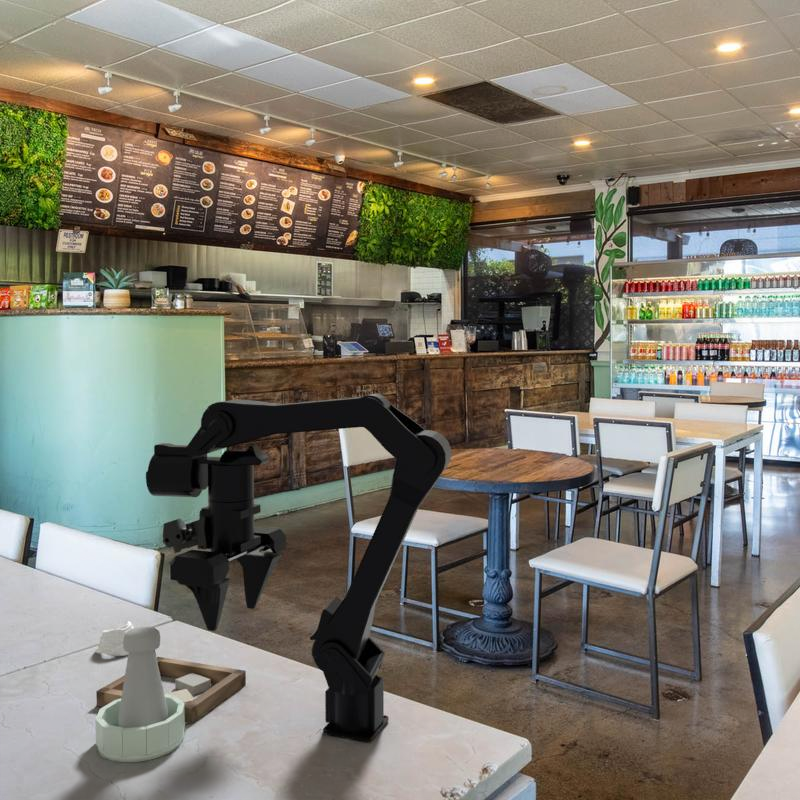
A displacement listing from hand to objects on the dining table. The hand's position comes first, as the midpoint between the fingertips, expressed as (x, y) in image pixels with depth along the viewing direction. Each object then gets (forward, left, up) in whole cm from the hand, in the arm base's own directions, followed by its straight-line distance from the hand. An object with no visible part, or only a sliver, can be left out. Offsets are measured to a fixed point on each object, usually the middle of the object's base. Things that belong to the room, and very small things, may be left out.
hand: (232, 618), depth 103 cm
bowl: (+7, +9, -13) cm, 18 cm away
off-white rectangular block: (+10, -6, -13) cm, 18 cm away
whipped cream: (+30, -14, -13) cm, 36 cm away
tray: (+11, -3, -13) cm, 18 cm away
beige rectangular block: (+9, -1, -13) cm, 16 cm away
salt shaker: (+7, +9, -12) cm, 17 cm away
